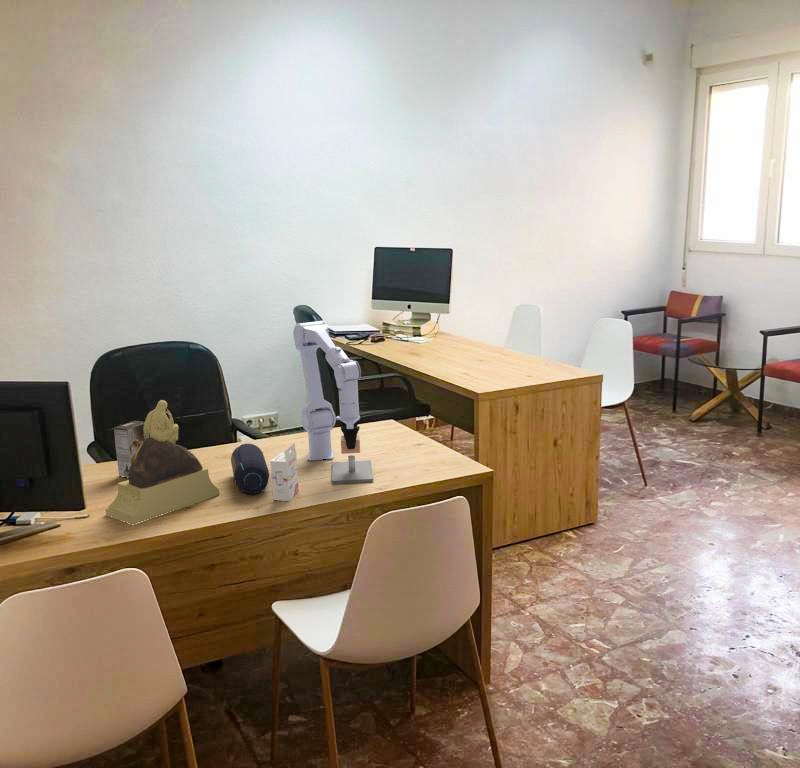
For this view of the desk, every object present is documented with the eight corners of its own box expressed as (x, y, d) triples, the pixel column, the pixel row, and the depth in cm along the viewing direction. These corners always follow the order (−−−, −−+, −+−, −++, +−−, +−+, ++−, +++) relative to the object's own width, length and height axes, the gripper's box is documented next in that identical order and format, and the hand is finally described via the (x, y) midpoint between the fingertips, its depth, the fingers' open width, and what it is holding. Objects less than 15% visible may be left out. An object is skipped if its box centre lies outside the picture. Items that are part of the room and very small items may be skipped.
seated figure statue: (191, 486, 246) (182, 388, 239) (219, 495, 238) (210, 393, 231) (106, 515, 225) (93, 408, 218) (133, 526, 217) (121, 414, 210)
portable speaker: (231, 472, 257) (228, 441, 255) (263, 469, 260) (261, 438, 258) (236, 499, 234) (233, 465, 231) (271, 495, 236) (269, 461, 234)
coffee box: (140, 468, 264) (135, 419, 261) (155, 471, 261) (150, 421, 258) (118, 477, 257) (112, 427, 253) (133, 479, 253) (127, 429, 250)
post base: (332, 465, 261) (331, 448, 260) (370, 463, 262) (370, 446, 260) (332, 484, 243) (331, 466, 242) (373, 481, 244) (372, 464, 243)
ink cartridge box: (282, 490, 239) (279, 441, 236) (299, 491, 238) (296, 442, 235) (272, 501, 231) (268, 450, 228) (289, 501, 230) (286, 450, 227)
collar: (341, 448, 253) (340, 435, 252) (359, 447, 254) (359, 434, 253) (341, 453, 248) (340, 440, 247) (360, 452, 248) (359, 439, 247)
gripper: (335, 397, 254) (337, 439, 257) (335, 408, 240) (337, 453, 243) (358, 396, 255) (360, 438, 258) (359, 407, 241) (361, 452, 244)
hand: (351, 445), depth 251 cm, fingers closed on collar, 6 cm apart
